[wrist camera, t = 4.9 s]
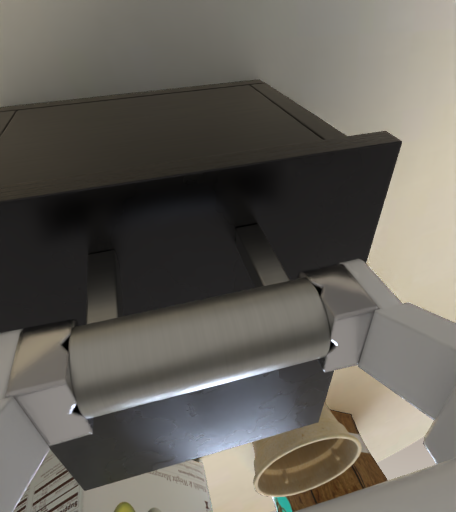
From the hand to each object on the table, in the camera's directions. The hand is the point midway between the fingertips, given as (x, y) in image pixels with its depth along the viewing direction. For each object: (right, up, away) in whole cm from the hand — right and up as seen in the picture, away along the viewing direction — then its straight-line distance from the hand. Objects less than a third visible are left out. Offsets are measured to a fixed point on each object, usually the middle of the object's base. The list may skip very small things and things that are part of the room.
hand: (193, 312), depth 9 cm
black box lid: (-1, -3, +6) cm, 7 cm away
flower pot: (+5, -11, +28) cm, 31 cm away
